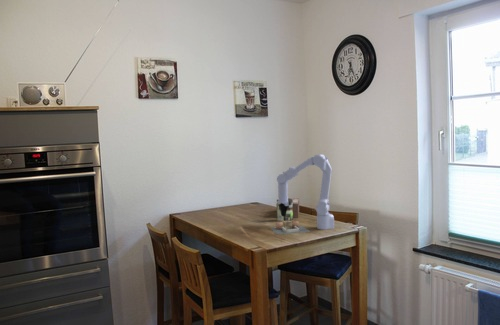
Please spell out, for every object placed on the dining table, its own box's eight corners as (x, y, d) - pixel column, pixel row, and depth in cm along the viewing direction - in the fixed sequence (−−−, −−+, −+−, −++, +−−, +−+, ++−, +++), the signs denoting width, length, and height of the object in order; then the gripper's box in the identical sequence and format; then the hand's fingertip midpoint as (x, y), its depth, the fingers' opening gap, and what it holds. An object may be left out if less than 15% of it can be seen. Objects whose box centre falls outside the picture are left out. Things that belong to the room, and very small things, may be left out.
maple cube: (289, 227, 232) (289, 220, 232) (291, 228, 228) (291, 221, 228) (283, 227, 232) (283, 221, 231) (285, 229, 228) (285, 222, 227)
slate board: (301, 227, 236) (301, 225, 236) (311, 233, 220) (311, 231, 220) (269, 229, 231) (269, 228, 231) (277, 236, 216) (277, 234, 216)
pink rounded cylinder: (297, 226, 233) (297, 220, 233) (299, 227, 230) (299, 222, 229) (291, 227, 233) (291, 221, 232) (293, 228, 229) (293, 222, 228)
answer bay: (295, 228, 229) (295, 225, 228) (299, 231, 221) (299, 228, 221) (281, 229, 227) (281, 227, 227) (285, 232, 219) (285, 229, 219)
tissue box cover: (298, 218, 262) (297, 203, 262) (276, 218, 264) (276, 203, 264) (299, 211, 288) (299, 197, 287) (279, 211, 290) (279, 198, 289)
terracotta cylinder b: (279, 227, 232) (279, 221, 231) (284, 228, 228) (284, 222, 228) (274, 228, 230) (274, 222, 229) (278, 229, 226) (278, 224, 226)
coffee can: (294, 219, 257) (294, 198, 256) (290, 223, 248) (290, 201, 247) (279, 219, 261) (279, 198, 260) (275, 222, 251) (274, 200, 250)
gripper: (273, 192, 242) (273, 214, 243) (280, 195, 228) (280, 218, 229) (284, 191, 243) (284, 213, 244) (291, 195, 229) (292, 217, 230)
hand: (283, 215), depth 236 cm, fingers closed
